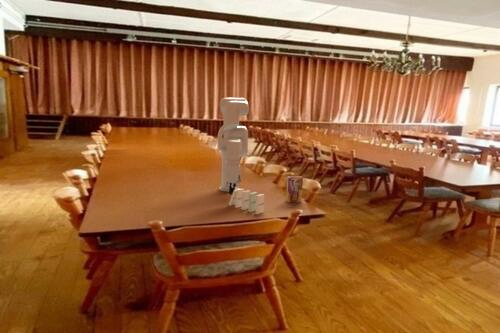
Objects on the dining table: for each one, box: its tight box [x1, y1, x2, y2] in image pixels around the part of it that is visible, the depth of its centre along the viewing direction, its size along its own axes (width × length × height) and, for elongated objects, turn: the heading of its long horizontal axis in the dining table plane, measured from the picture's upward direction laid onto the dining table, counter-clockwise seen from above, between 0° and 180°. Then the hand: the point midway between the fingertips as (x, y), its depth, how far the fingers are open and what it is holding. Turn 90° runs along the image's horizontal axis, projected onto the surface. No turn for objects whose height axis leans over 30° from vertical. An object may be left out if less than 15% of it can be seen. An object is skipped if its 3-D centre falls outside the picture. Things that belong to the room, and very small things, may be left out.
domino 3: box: [240, 189, 251, 211], centre depth 190 cm, size 2×5×10 cm, turn 140°
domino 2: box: [234, 188, 245, 209], centre depth 193 cm, size 2×5×10 cm, turn 139°
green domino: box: [247, 191, 258, 213], centre depth 187 cm, size 2×5×10 cm, turn 140°
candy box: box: [285, 175, 304, 203], centre depth 207 cm, size 9×4×15 cm, turn 96°
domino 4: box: [255, 193, 265, 215], centre depth 183 cm, size 2×5×10 cm, turn 139°
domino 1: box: [228, 188, 239, 207], centre depth 195 cm, size 2×5×10 cm, turn 139°
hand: (232, 193), depth 196 cm, fingers closed
